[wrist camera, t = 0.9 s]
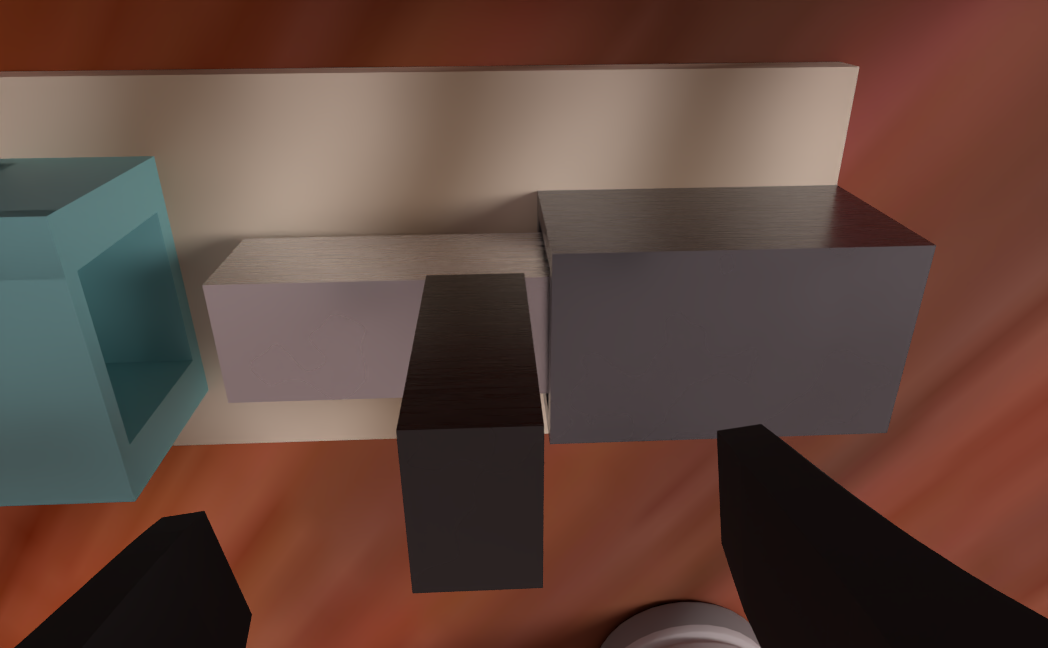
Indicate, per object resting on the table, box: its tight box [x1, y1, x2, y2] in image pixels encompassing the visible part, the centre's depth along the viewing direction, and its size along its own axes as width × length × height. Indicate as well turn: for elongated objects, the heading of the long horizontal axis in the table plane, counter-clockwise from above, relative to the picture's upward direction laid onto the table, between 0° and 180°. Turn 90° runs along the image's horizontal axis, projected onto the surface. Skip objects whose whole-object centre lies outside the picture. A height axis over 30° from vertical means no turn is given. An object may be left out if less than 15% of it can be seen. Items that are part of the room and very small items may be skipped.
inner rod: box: [202, 232, 550, 593], centre depth 14 cm, size 14×3×8 cm, turn 90°
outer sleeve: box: [537, 185, 936, 444], centre depth 17 cm, size 8×4×4 cm, turn 90°
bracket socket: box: [0, 156, 209, 506], centre depth 16 cm, size 4×6×5 cm, turn 0°
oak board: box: [0, 62, 859, 446], centre depth 19 cm, size 20×10×1 cm, turn 90°
